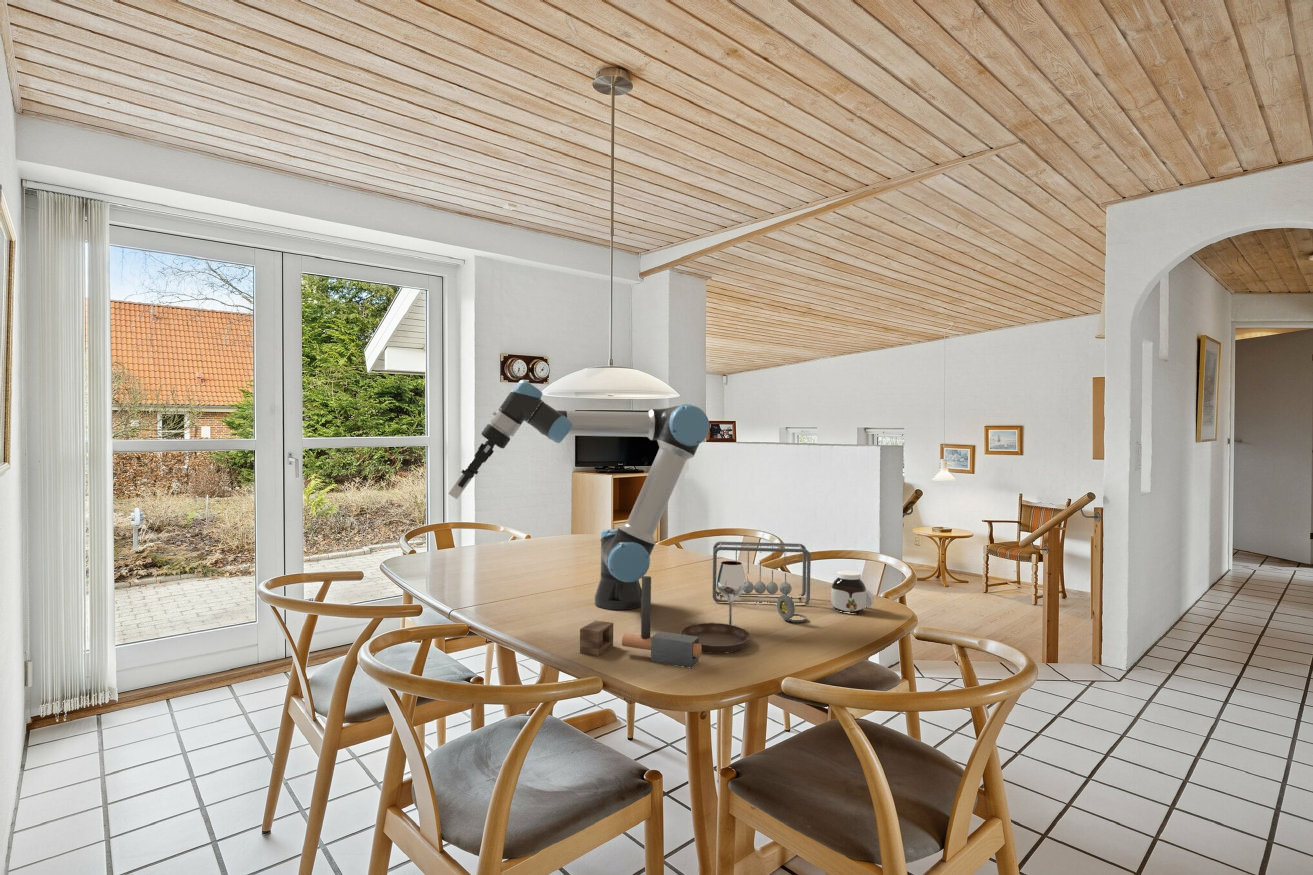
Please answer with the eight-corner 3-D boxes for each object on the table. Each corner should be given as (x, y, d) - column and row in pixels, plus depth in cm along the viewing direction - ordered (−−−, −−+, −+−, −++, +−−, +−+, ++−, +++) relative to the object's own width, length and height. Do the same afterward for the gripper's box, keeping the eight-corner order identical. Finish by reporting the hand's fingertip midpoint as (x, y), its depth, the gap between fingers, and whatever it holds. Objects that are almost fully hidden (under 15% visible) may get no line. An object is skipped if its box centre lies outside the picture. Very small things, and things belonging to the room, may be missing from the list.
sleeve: (698, 661, 158) (699, 636, 158) (691, 668, 153) (692, 642, 153) (659, 655, 162) (659, 631, 162) (651, 661, 157) (651, 636, 157)
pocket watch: (808, 618, 195) (809, 584, 195) (802, 626, 187) (802, 590, 187) (780, 615, 198) (781, 581, 198) (773, 622, 191) (773, 587, 190)
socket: (613, 646, 168) (613, 622, 168) (598, 655, 161) (598, 631, 161) (595, 643, 170) (595, 620, 170) (579, 652, 163) (579, 628, 163)
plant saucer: (748, 659, 161) (749, 646, 161) (675, 653, 164) (675, 641, 164) (751, 636, 178) (751, 625, 178) (684, 632, 181) (685, 621, 181)
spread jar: (829, 612, 202) (830, 573, 202) (834, 603, 212) (835, 566, 212) (871, 617, 197) (872, 577, 197) (874, 607, 208) (875, 570, 208)
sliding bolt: (701, 655, 157) (702, 581, 156) (697, 659, 154) (698, 584, 154) (627, 644, 164) (628, 573, 164) (621, 647, 161) (622, 576, 161)
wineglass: (748, 626, 186) (749, 561, 186) (742, 634, 179) (743, 567, 178) (719, 623, 189) (720, 559, 189) (712, 631, 181) (713, 564, 181)
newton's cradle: (805, 598, 219) (806, 543, 219) (810, 606, 208) (811, 549, 208) (712, 595, 221) (713, 541, 221) (712, 603, 211) (713, 546, 211)
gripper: (490, 421, 200) (447, 480, 198) (487, 423, 175) (438, 491, 174) (511, 435, 201) (469, 494, 199) (511, 440, 177) (463, 507, 175)
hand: (454, 493), depth 186 cm, fingers open, 13 cm apart
